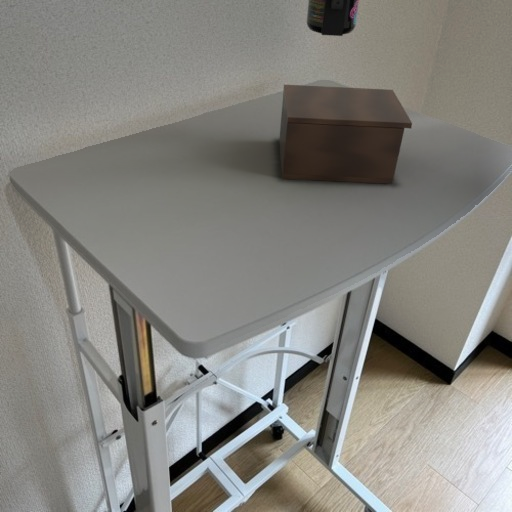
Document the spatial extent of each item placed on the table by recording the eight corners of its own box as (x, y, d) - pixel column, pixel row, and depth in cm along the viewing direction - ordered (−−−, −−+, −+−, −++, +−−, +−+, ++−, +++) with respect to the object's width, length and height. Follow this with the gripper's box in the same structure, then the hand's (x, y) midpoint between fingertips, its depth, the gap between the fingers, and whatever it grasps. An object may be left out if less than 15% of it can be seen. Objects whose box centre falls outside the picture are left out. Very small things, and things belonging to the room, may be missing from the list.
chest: (376, 145, 94) (386, 94, 89) (392, 183, 83) (404, 128, 78) (279, 140, 93) (283, 89, 88) (282, 178, 82) (287, 123, 77)
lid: (391, 94, 88) (392, 89, 88) (411, 128, 78) (412, 123, 77) (283, 89, 88) (283, 84, 88) (287, 122, 77) (287, 117, 77)
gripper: (313, -187, 69) (296, 9, 83) (331, -199, 53) (306, 46, 67) (372, -183, 69) (346, 12, 83) (408, -194, 53) (368, 49, 67)
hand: (328, 27), depth 75 cm, fingers closed on supplement container, 7 cm apart
